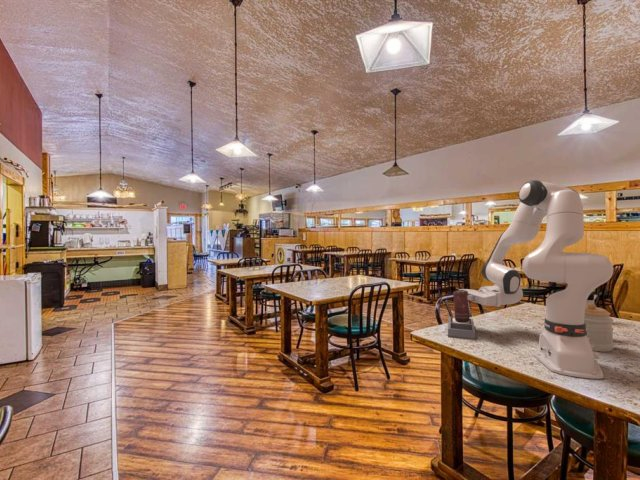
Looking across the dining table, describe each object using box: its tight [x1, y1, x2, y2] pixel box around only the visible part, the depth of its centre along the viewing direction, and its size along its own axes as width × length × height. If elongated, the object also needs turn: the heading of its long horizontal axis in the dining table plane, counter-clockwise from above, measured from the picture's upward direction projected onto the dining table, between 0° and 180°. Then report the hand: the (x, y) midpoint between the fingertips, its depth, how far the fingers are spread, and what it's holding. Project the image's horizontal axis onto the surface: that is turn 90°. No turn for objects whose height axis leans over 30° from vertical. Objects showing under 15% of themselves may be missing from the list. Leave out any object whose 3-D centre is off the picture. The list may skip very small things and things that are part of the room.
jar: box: [584, 302, 614, 353], centre depth 129 cm, size 13×13×18 cm
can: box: [452, 289, 470, 323], centre depth 147 cm, size 6×6×14 cm
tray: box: [447, 316, 476, 340], centre depth 151 cm, size 22×11×4 cm, turn 157°
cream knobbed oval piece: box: [452, 318, 470, 324], centre depth 156 cm, size 8×8×4 cm
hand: (460, 297), depth 146 cm, fingers closed, pressing on can
